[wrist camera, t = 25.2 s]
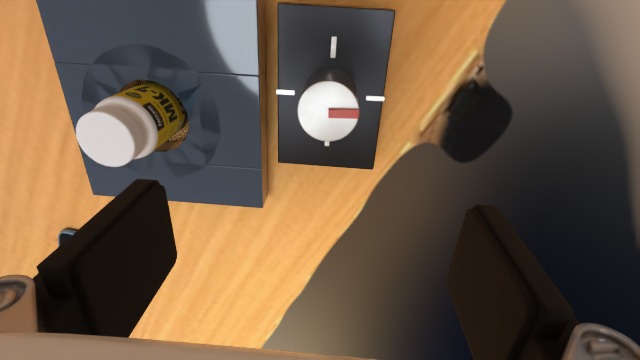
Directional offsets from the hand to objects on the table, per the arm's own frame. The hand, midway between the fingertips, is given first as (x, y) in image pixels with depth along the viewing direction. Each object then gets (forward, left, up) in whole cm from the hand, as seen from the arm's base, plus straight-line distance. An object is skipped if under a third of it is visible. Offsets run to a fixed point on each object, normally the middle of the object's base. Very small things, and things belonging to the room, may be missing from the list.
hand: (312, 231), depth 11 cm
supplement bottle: (+3, -15, -20) cm, 25 cm away
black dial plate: (0, 0, -20) cm, 20 cm away
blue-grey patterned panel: (+2, -13, -20) cm, 24 cm away
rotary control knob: (0, 0, -17) cm, 17 cm away
